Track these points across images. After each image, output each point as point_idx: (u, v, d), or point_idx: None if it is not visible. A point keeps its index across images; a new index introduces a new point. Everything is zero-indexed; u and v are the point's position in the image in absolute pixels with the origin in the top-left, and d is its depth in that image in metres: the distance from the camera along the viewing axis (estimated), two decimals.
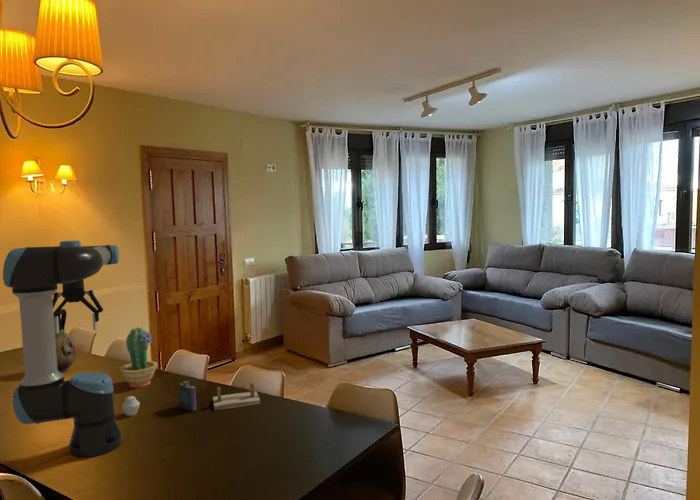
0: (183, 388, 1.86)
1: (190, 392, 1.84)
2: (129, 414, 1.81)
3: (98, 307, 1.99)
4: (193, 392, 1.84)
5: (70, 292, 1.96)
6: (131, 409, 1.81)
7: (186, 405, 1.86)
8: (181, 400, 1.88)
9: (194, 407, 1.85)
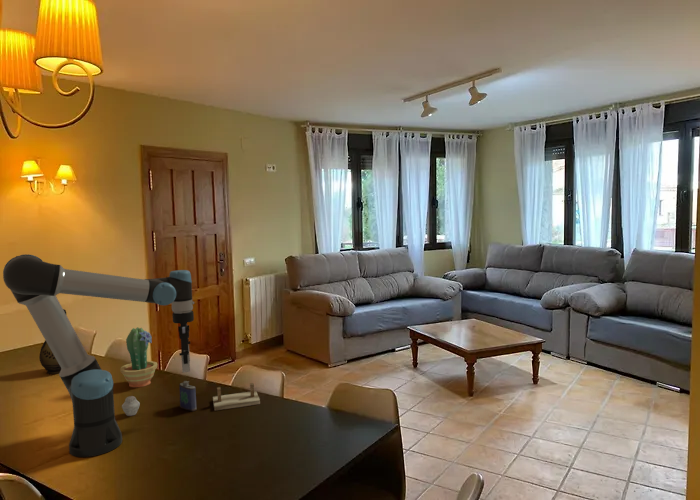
0: (183, 388, 1.86)
1: (190, 392, 1.84)
2: (129, 414, 1.81)
3: (181, 348, 1.77)
4: (193, 392, 1.84)
5: None
6: (131, 409, 1.81)
7: (186, 405, 1.86)
8: (181, 400, 1.88)
9: (194, 407, 1.85)
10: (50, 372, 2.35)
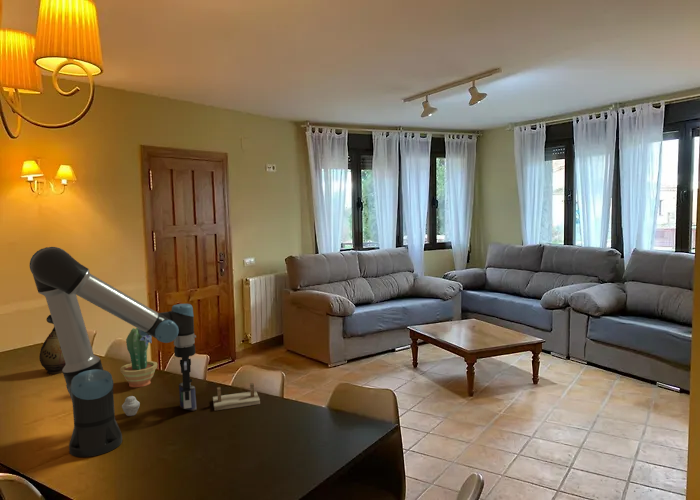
0: None
1: None
2: (129, 414, 1.81)
3: (183, 385, 1.80)
4: (193, 392, 1.84)
5: None
6: (131, 409, 1.81)
7: None
8: (180, 400, 1.88)
9: (194, 407, 1.85)
10: (50, 372, 2.35)
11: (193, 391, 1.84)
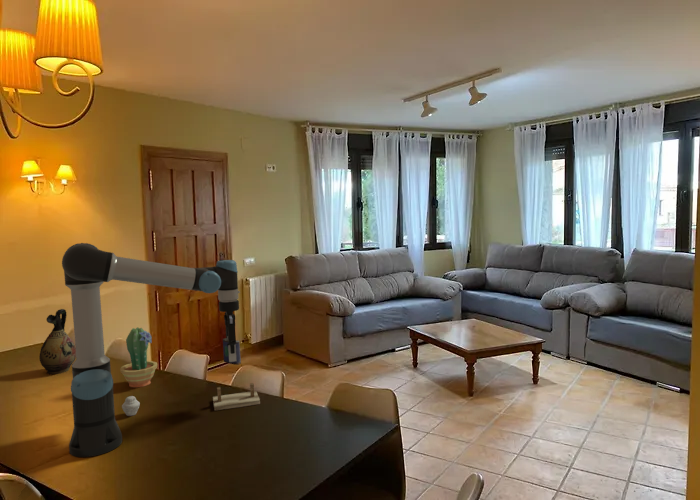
0: (227, 343, 1.89)
1: None
2: (129, 414, 1.81)
3: (228, 338, 1.84)
4: (237, 346, 1.87)
5: (226, 313, 1.90)
6: (131, 409, 1.81)
7: None
8: (225, 354, 1.91)
9: (239, 361, 1.88)
10: (50, 372, 2.35)
11: (238, 345, 1.88)
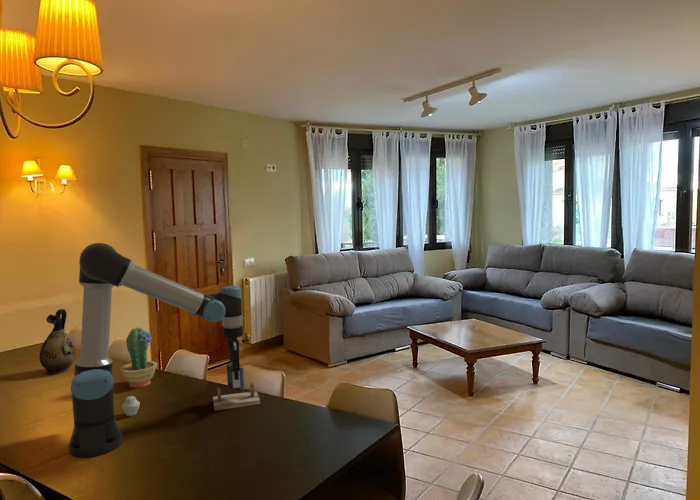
0: (231, 368, 1.90)
1: None
2: (129, 414, 1.81)
3: (232, 365, 1.84)
4: (241, 372, 1.88)
5: (230, 339, 1.91)
6: (131, 409, 1.81)
7: None
8: (228, 380, 1.92)
9: (242, 386, 1.89)
10: (50, 372, 2.35)
11: (242, 371, 1.89)
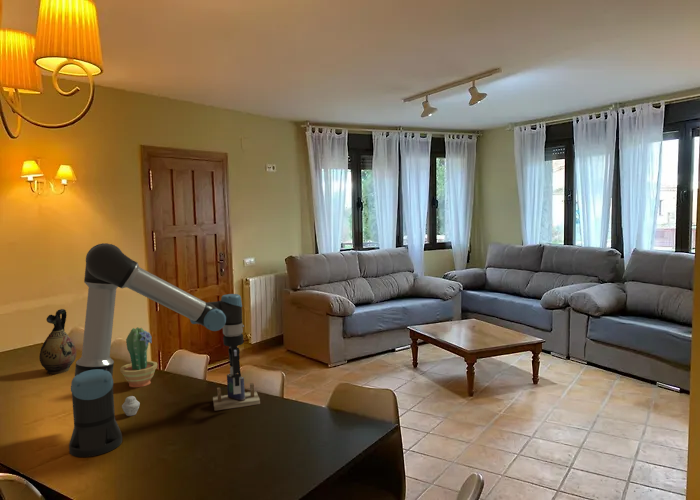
0: (231, 379, 1.90)
1: None
2: (129, 414, 1.81)
3: (233, 371, 1.83)
4: (242, 382, 1.89)
5: (230, 347, 1.91)
6: (131, 409, 1.81)
7: (235, 395, 1.90)
8: (229, 390, 1.92)
9: (243, 397, 1.89)
10: (50, 372, 2.35)
11: (242, 381, 1.89)
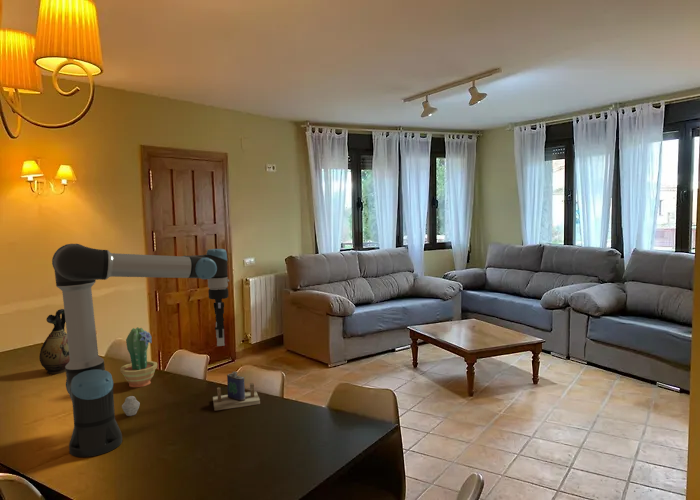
0: (232, 379, 1.91)
1: (239, 383, 1.89)
2: (129, 414, 1.81)
3: (216, 323, 1.85)
4: (242, 382, 1.89)
5: None
6: (131, 409, 1.81)
7: (235, 395, 1.90)
8: (229, 390, 1.93)
9: (243, 397, 1.89)
10: (50, 372, 2.35)
11: (243, 381, 1.89)
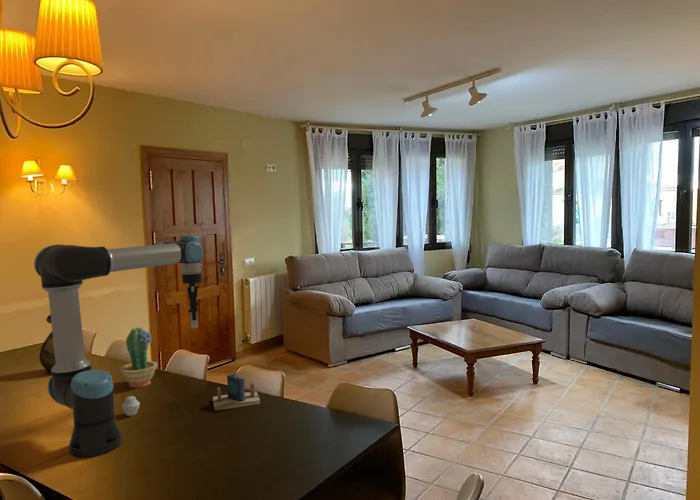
0: (232, 379, 1.91)
1: (239, 383, 1.89)
2: (129, 414, 1.81)
3: (190, 306, 1.93)
4: (242, 382, 1.89)
5: None
6: (131, 409, 1.81)
7: (235, 395, 1.90)
8: (229, 390, 1.93)
9: (243, 397, 1.89)
10: (50, 372, 2.35)
11: (242, 381, 1.89)
